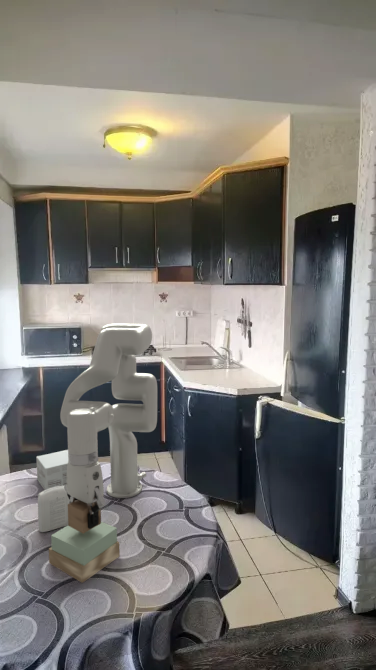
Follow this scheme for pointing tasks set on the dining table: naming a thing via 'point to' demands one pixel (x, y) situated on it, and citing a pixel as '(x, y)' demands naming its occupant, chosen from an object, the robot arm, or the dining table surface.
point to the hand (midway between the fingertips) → (84, 521)
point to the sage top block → (84, 542)
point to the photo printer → (52, 509)
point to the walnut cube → (80, 516)
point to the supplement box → (52, 469)
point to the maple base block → (87, 570)
